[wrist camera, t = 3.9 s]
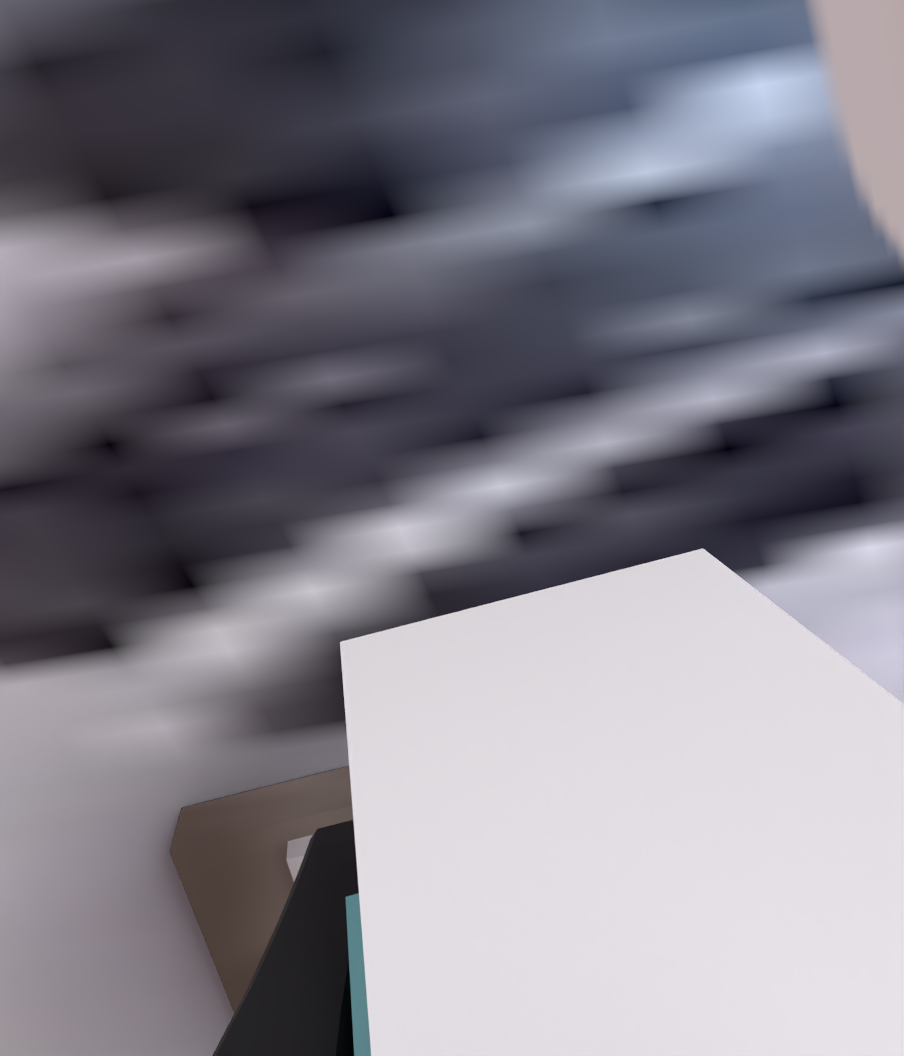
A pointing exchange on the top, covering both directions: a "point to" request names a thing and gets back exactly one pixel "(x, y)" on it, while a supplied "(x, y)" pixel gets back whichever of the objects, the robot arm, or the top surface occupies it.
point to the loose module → (623, 828)
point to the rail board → (251, 863)
